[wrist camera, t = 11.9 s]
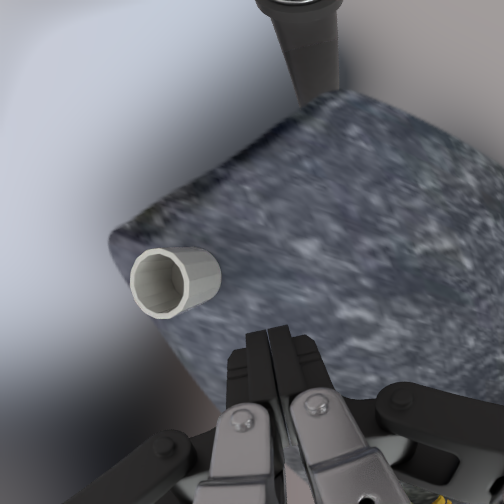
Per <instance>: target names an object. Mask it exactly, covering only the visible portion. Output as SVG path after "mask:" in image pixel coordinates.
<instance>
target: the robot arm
mask: <svg viewBox="0 0 504 504" xmlns="http://www.w3.org/2000/svg"><path fill="white" fill-rule="evenodd" d="M270 1H271V2H273V3H276V4H279V5H284V6H305V5H310V4H314V3H317V2H319V1H321V0H270ZM268 335H269V340H270V344H269V340H268V336H267V332H266V329H265V330H261V331H256V332H251V333H247V334H246V348H242V349H237V350H234V351H233V352H232V354H231V355H230V357H229V358H228V364H227V370H228V372H227V394H226V410H225V411H224V412H223V413H222V414H221V415H220V417H219V419H218V421H217V426H216V427H215V428H213V429H211V430H210V431H208V432H205V433H203V434H200V435H197V436H194V437H191V438H188V436H187V435H186V434H185V433H183V432H181V431H178V430H164V431H161V432H158V433H156V434H154V435H152V436H151V437H150V438H148V439H147V440H146V441H145V442H143V443H142V444H141V445H140V446H139V447H137V448H136V449H135V450H134V451H132V452H131V453H130V454H129V455H127V456H126V457H125V458H123V459H122V460H121V461H120V462H118V463H117V464H116V465H114V466H113V467H112V468H111V469H109V470H108V471H107V472H105V473H104V474H103V475H101V476H100V477H99V478H97V479H96V480H95V481H93V482H92V483H91V484H90V485H88V486H86V487H85V488H84V489H82V490H81V491H79V492H78V493H77V494H75V495H74V496H72V497H71V498H70V499H68V500H67V501H65V502H64V503H63V504H287V494H286V475H285V467H284V463H285V459H284V452H283V448H287V447H290V444H289V439H288V433H287V428H288V432H289V436H290V440H291V444H292V446H296V445H298V447H299V451H300V456H301V460H302V464H303V468H304V471H305V474H306V477H307V480H308V483H309V487H310V490H311V492H312V496H313V498H314V502H315V504H412V503H411V501H410V500H409V498H408V496H407V494H406V493H405V491H404V489H403V487H402V486H401V484H400V482H399V480H400V481H403V482H405V483H408V484H411V485H413V486H416V487H419V488H421V489H424V490H427V491H430V492H433V493H436V494H439V495H442V496H445V497H448V498H451V499H454V500H458V501H461V502H465V503H468V504H504V406H503V405H498V404H494V403H489V402H485V401H480V400H476V399H472V398H468V397H464V396H460V395H456V394H452V393H448V392H444V391H441V390H437V389H433V388H430V387H426V386H423V385H419V384H416V383H412V382H397V383H393V384H390V385H388V386H386V387H385V388H383V389H382V390H381V391H380V392H379V394H378V395H377V398H376V399H364V400H355V399H349V398H346V397H343V396H342V395H340V394H339V393H338V392H337V391H336V390H335V389H334V387H333V385H332V382H331V380H330V377H329V375H328V372H327V370H326V367H325V365H324V363H323V360H322V358H321V355H320V353H319V351H318V348H317V346H316V343H315V341H314V340H313V339H311V338H310V337H308V336H307V335H301V336H296V337H291V334H290V331H289V327H288V325H283V326H278V327H274V328H270V329H268ZM270 346H271V348H270ZM271 351H272V353H271ZM284 416H285V417H284ZM285 420H286V423H285ZM286 424H287V428H286Z"/></svg>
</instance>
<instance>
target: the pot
mask: <svg viewBox="0 0 504 504" xmlns="http://www.w3.org/2000/svg"><path fill="white" fill-rule="evenodd" d="M220 284H221V270H220V267H219V264H218V262H217V260H216V259H215V258H214V256H213V255H212V254H211V253H209V252H208V251H206V250H204V249H201V248H196V247H172V248H155V249H149V250H146V251H145V252H144V253H143V254H141V255H140V256H139V257H138V258H137V259H136V261H135V263H134V265H133V268H132V270H131V276H130V288H131V291H132V294H133V297H134V300H135V301H136V303H137V304H138V306H139V307H140V308H141V309H142V310H143V312H145V313H146V314H148V315H150V316H152V317H154V318H156V319H169V318H172V317H175V316H177V315H179V314H182V313H184V312H186V311H188V310H191V309H193V308H195V307H197V306H200V305H202V304H204V303H205V302H207V301H209V300H211V299H212V298H213V297H214V296H215V295H216V293H217V292H218V290H219V288H220Z"/></svg>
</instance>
